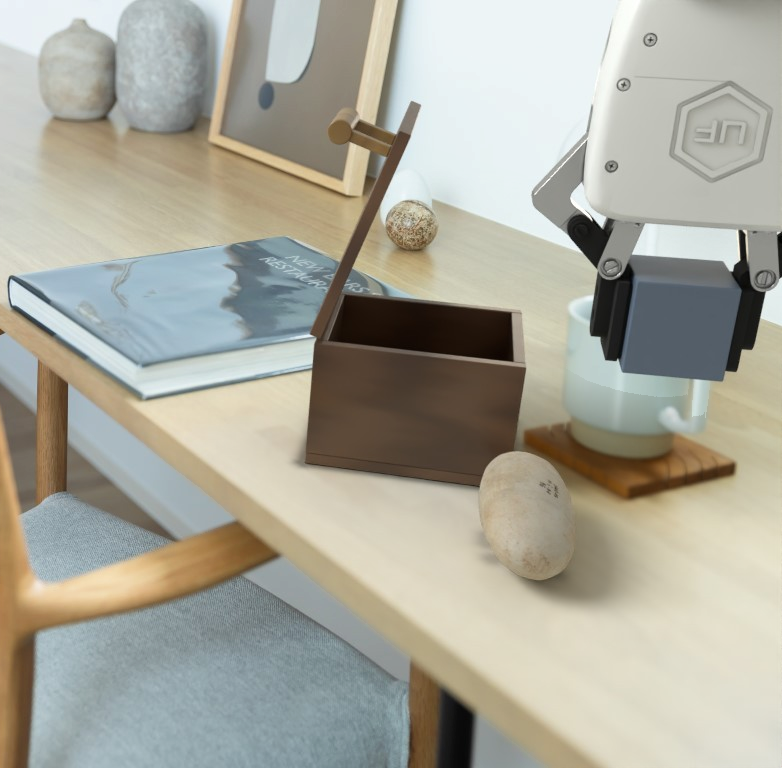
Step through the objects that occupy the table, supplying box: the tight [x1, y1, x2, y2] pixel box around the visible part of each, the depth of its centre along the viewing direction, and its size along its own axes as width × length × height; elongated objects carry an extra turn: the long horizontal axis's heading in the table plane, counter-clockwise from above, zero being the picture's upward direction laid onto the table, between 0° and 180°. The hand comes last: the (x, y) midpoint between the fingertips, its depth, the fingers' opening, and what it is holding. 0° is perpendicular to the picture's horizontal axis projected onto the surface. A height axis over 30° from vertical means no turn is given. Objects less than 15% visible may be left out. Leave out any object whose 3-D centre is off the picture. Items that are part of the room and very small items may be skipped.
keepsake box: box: [304, 290, 527, 487], centre depth 82 cm, size 14×12×9 cm
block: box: [617, 254, 742, 383], centre depth 55 cm, size 4×4×4 cm
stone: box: [478, 450, 577, 581], centre depth 70 cm, size 6×6×12 cm
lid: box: [309, 100, 422, 339], centre depth 79 cm, size 14×12×5 cm
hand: (666, 352), depth 56 cm, fingers closed on block, 4 cm apart
